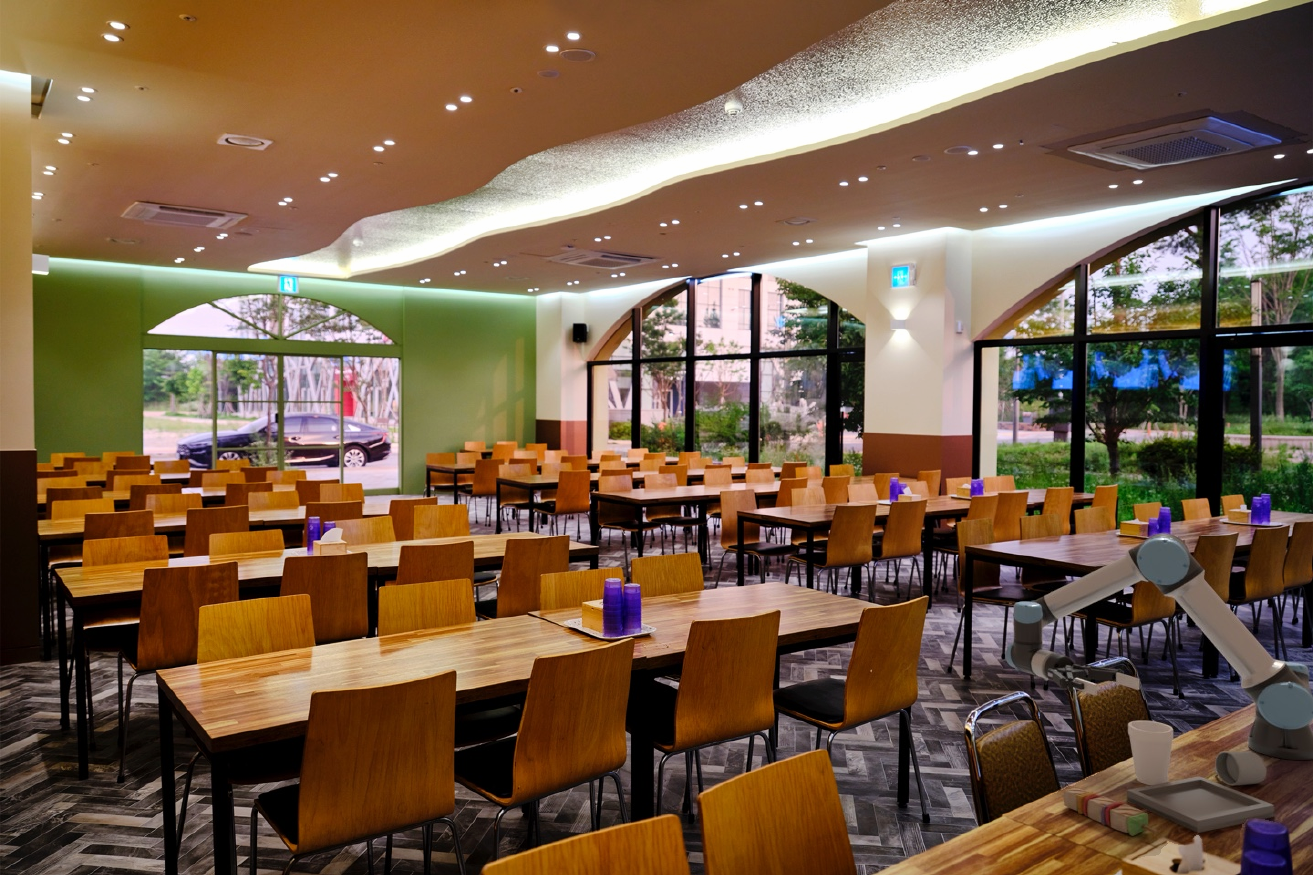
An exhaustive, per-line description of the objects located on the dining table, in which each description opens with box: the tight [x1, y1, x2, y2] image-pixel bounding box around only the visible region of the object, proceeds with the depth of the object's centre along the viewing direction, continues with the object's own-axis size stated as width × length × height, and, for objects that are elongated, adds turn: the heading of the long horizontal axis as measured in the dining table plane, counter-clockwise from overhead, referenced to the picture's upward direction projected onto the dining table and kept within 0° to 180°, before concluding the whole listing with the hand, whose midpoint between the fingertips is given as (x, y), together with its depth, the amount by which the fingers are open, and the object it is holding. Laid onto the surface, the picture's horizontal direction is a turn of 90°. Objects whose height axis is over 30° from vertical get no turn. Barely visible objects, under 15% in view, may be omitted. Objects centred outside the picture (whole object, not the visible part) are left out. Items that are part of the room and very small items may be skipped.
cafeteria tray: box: [1126, 775, 1275, 834], centre depth 200 cm, size 22×18×2 cm
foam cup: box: [1127, 720, 1174, 786], centre depth 216 cm, size 10×9×13 cm
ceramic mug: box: [1213, 750, 1268, 787], centre depth 215 cm, size 11×8×8 cm
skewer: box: [1063, 787, 1158, 836], centre depth 193 cm, size 21×6×5 cm, turn 26°
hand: (1117, 687), depth 225 cm, fingers open, 13 cm apart
